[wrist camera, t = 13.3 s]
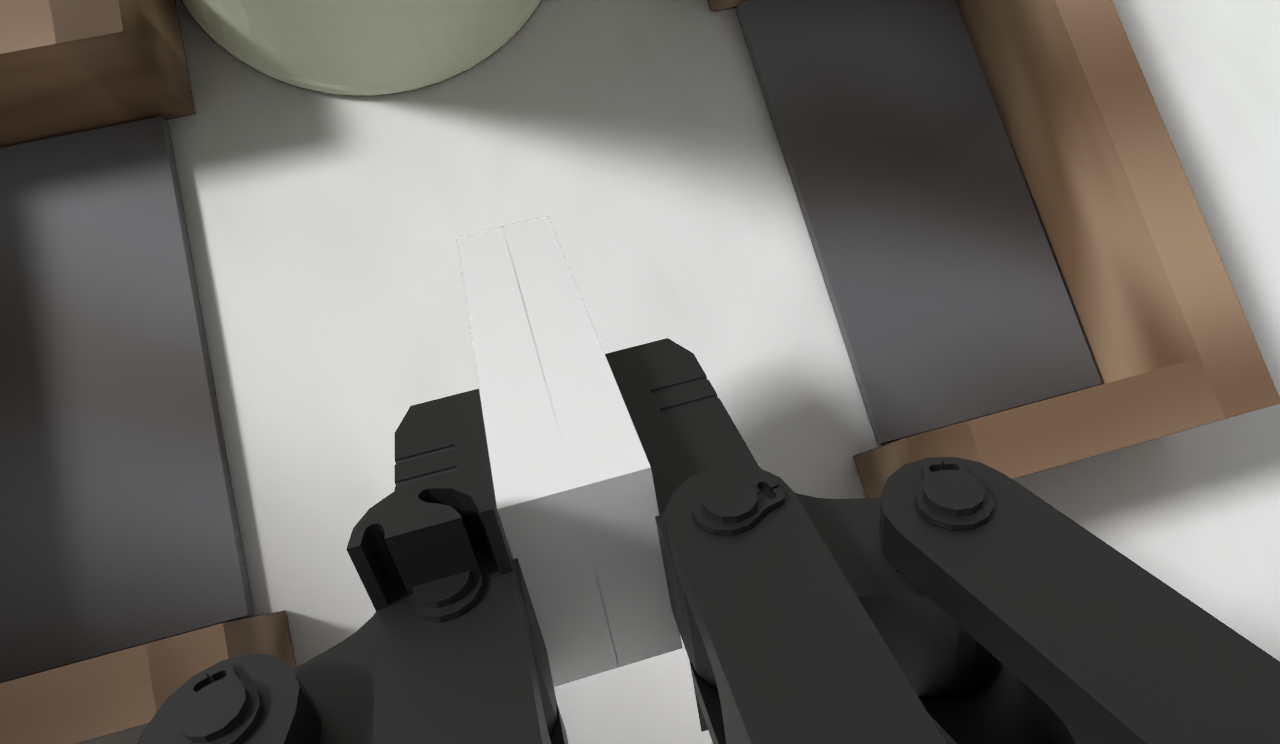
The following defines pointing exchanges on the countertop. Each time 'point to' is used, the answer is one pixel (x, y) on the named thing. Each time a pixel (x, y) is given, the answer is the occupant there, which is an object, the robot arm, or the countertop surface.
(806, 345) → the countertop surface
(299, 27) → the can
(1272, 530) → the countertop surface
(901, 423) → the channel
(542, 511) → the robot arm
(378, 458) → the countertop surface
